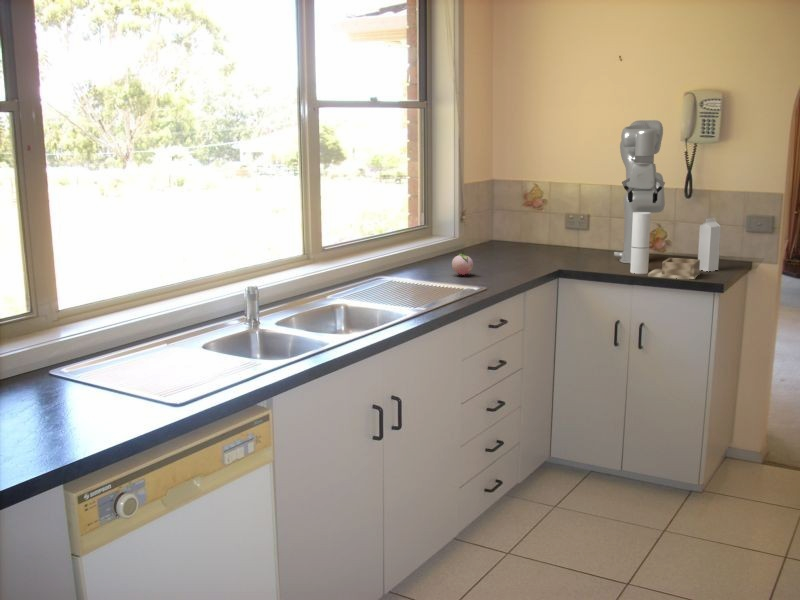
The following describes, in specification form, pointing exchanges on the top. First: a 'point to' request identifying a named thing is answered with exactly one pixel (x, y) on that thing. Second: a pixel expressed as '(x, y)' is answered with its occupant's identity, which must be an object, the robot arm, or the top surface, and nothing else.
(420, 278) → the top surface
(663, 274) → the board
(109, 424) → the top surface
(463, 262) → the decorative fruit
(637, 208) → the robot arm
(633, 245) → the cylindrical container
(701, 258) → the milk
